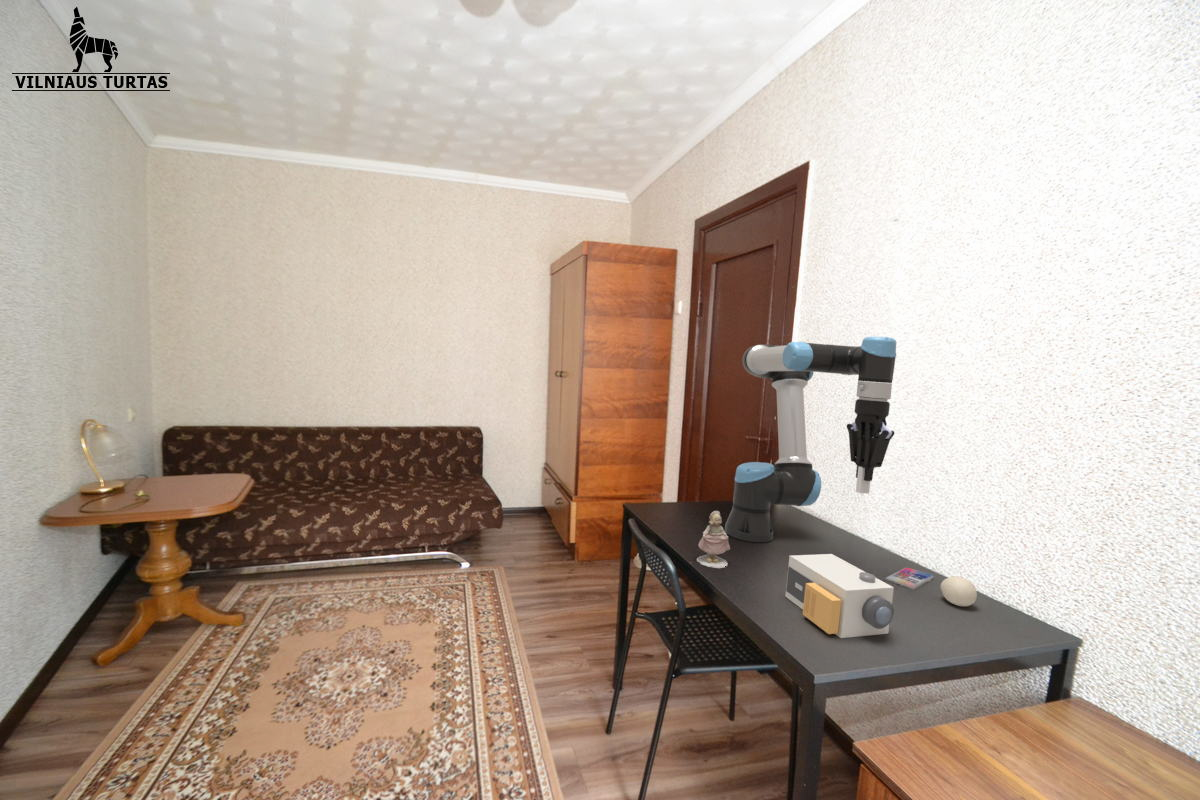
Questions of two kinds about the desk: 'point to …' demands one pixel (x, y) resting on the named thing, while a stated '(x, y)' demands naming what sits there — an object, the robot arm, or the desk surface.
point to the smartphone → (909, 578)
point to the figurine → (714, 543)
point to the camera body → (844, 592)
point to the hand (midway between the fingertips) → (862, 492)
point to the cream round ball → (959, 591)
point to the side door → (822, 608)
